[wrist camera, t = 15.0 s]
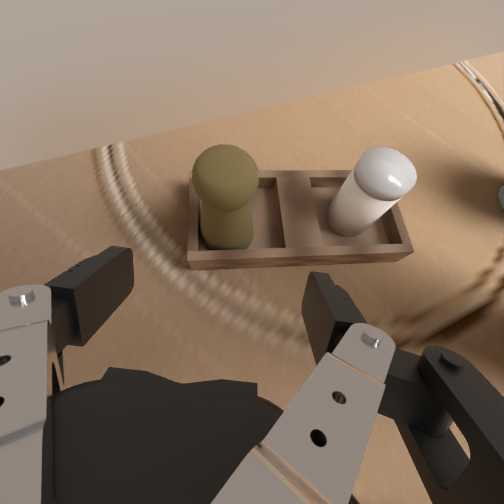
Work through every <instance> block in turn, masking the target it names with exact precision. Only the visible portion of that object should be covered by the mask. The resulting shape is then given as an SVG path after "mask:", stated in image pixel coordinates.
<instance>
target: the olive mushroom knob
mask: <svg viewBox="0 0 504 504" xmlns="http://www.w3.org/2000/svg"><path fill="white" fill-rule="evenodd" d="M192 182H193V186H194V189H195V192H196V194H197V195H198V197H199V198H200V199H201V200H202V203H201V227H200V237H201V240H202V243H203V244H204V246H205V247H206V248H207V249H208V250H209V251H211V250H239V249H247V248H248V247H249V245H250V244H251V242H252V239H253V236H254V234H253V221H252V209H251V199H252V198H253V197H254V195H255V194H256V190H257V187H258V183H259V175H258V168H257V166H256V164H255V162H254V160H253V159H252V157H251V156H250V155H249V154H248V153H247V152H246V151H244V150H242V149H241V148H239V147H236V146H232V145H217V146H212V147H210V148H208V149H206V150H205V151H204V152H203V153H202V154H201V155H200V156H199V157H198V158H197V159H196V161H195V164H194V166H193V170H192Z"/></svg>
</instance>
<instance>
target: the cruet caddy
mask: <svg viewBox="0 0 504 504" xmlns="http://www.w3.org/2000/svg"><path fill="white" fill-rule="evenodd" d="M351 171H352V170H317V171H258V175H259V183H258V187H257V190H256V194H255V195H254V197H253V198H252V199H251V209H252V221H253V234H254V236H253V239H252V242H251V244H250V245H249V247H248V248H247V249H239V250H211V251H209V250H208V249H207V248H206V247H205V246H204V244H203V243H202V240H201V237H200V227H201V203H202V200H201V199H200V198H199V197H198V195H197V194H196V192H195V189H194V186H193V182H192V171H190V175H189V211H188V248H187V262H188V264H189V266H190V268H191V270H211V269H234V268H257V267H280V266H303V265H326V264H349V263H372V262H395V261H399V260H400V259H402V258H404V257H406V256H408V255H409V254H411V253H413V252H414V250H413V247H412V244H411V241H410V238H409V236H408V233H407V230H406V227H405V224H404V221H403V218H402V215H401V212H400V209H399V207H398V204H397V202H396V203H395V204H394V205H393V206H392V207H391V208H390V209H388V210H387V211H386V212H385V213H384V214H383V215H382V216H381V217H380V218H379V219H377V220H376V221H375V222H374V223H373V224H372V225H371V226H370V227H369V228H368V229H366V230H365V231H364V232H363V233H362V234H361V235H359V236H356V237H345V236H342V235H339V234H337V233H336V232H334V231H333V230H332V229H331V228H330V226H329V225H328V223H327V221H326V209H327V207H328V206H329V204H330V203H331V201H332V200H333V198H334V197H335V195H336V194H337V192H338V191H339V189H340V188H341V186H342V185H343V183H344V182H345V180H346V179H347V177H348V176H349V174H350V173H351Z"/></svg>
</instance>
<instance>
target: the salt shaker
mask: <svg viewBox="0 0 504 504" xmlns="http://www.w3.org/2000/svg"><path fill="white" fill-rule="evenodd" d="M416 179H417V174H416V170H415V168H414V166H413V164H412V163H411V161H410V160H409V159H408V158H407V157H406V156H404V155H403V154H401V153H400V152H398V151H396V150H394V149H391V148H386V147H374V148H371V149H369V150H367V151H366V152H364V153H363V155H362V156H361V158H360V159H359V161H358V162H357V164H356V165H355V167H354V168H353V170H352V171H351V173H350V174H349V176H348V177H347V179H346V180H345V182H344V183H343V185H342V186H341V188H340V189H339V191H338V192H337V194H336V195H335V197H334V198H333V200H332V201H331V203H330V204H329V206H328V207H327V209H326V221H327V223H328V225H329V226H330V228H331V229H332V230H333V231H334V232H336V233H337V234H339V235H342V236H345V237H356V236H359V235H361V234H362V233H363V232H364V231H365V230H366V229H368V228H369V227H370V226H371V225H372V224H373V223H374V222H375V221H376V220H377V219H379V218H380V217H381V216H382V215H383V214H384V213H385V212H386V211H387V210H388V209H390V208H391V207H392V206H393V205H394V204H395V203H396V202H397V201H398V200H399V199H401V198H402V197H403V196H404V195H405V194H406V193H407V192H408V191H409V190H410V189H411V188H412V187H413V186H414V185H415V183H416Z"/></svg>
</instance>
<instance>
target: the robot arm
mask: <svg viewBox="0 0 504 504" xmlns="http://www.w3.org/2000/svg"><path fill="white" fill-rule="evenodd" d="M133 285H134V269H133V253H132V250H131V249H130V248H125V247H117V246H110V247H109V248H107V249H106V250H104V251H103V252H101V253H99V254H98V255H96V256H93V257H90V258H87V259H84V260H83V261H81V262H79V263H78V264H76V265H75V266H73V267H71V268H70V269H68V271H65V272H63V273H62V274H60V275H59V276H57V277H56V278H54V279H52V280H51V281H49V282H48V283H46V284H44V285H38V284H32V285H23V286H17V287H13V288H10V289H7V290H5V291H2V292H0V504H360V503H359V502H358V501H357V500H356V498H355V497H354V496H353V495H352V491H353V487H354V484H355V481H356V478H357V475H358V472H359V468H360V465H361V462H362V459H363V456H364V453H365V449H366V446H367V443H368V440H369V437H370V434H371V431H372V427H373V424H374V421H375V418H376V415H377V413H379V414H381V415H384V416H386V417H389V418H391V419H394V421H395V423H396V425H397V427H398V429H399V432H400V434H401V436H402V438H403V440H404V443H405V445H406V447H407V449H408V451H409V453H410V456H411V458H412V460H413V462H414V464H415V467H416V469H417V471H418V473H419V475H420V477H421V480H422V482H423V484H424V486H425V488H426V491H427V493H428V495H429V497H430V499H431V502H432V504H504V397H503V396H502V395H501V394H500V393H499V392H498V391H497V390H496V389H495V388H494V387H493V386H492V384H491V383H490V382H489V381H488V380H487V379H486V378H485V377H484V376H483V375H482V374H481V373H480V372H479V371H478V370H477V369H476V368H475V367H474V366H473V365H472V364H471V363H470V362H469V361H468V360H466V359H465V358H463V357H462V356H460V355H459V354H457V353H455V352H453V351H451V350H448V349H446V348H443V347H439V346H427V347H426V348H425V349H424V351H423V353H422V355H421V356H418V355H415V354H412V353H409V352H406V351H403V350H400V349H397V348H395V347H396V346H395V343H394V341H393V339H392V338H391V337H390V336H389V335H388V334H387V333H385V332H384V331H382V330H381V329H379V328H377V327H375V326H372V325H369V324H367V322H366V321H365V319H364V318H363V316H362V314H361V313H360V311H359V310H358V308H357V307H356V305H355V304H354V302H353V301H352V299H351V297H350V296H349V294H348V293H347V292H346V291H345V290H344V289H342V288H341V287H340V286H339V285H335V284H334V283H333V281H332V279H331V278H330V276H329V274H328V273H320V272H312V271H311V272H310V274H309V276H308V280H307V284H306V288H305V292H304V297H303V301H302V316H303V320H304V323H305V327H306V330H307V334H308V337H309V341H310V344H311V348H312V352H313V355H314V359H315V362H316V368H315V369H314V370H313V372H312V373H311V375H310V376H309V377H308V379H307V380H306V381H305V383H304V384H303V386H302V387H301V388H300V390H299V391H298V393H297V394H296V395H295V397H294V398H293V400H292V401H291V402H290V404H289V405H288V407H287V408H286V409H285V411H283V410H282V409H281V408H280V407H278V406H277V405H275V404H273V403H272V402H270V401H268V400H266V399H264V398H262V397H259V396H257V383H251V382H242V381H232V380H223V379H220V380H211V381H203V382H194V383H186V384H181V383H177V382H174V381H172V380H169V379H166V378H164V377H161V376H158V375H155V374H153V373H150V372H147V371H141V370H131V369H122V368H113V367H109V368H108V370H107V371H106V373H105V374H104V376H103V377H102V379H101V380H95V381H90V382H86V383H82V384H79V385H75V386H73V387H70V388H66V372H65V357H64V352H63V349H64V348H65V347H66V346H67V345H73V346H82V347H83V346H84V345H85V344H86V343H87V342H88V340H89V339H90V338H91V337H92V336H93V335H94V334H95V333H96V331H97V330H98V329H99V328H100V327H101V326H102V325H103V324H104V322H105V321H106V320H107V319H108V318H109V317H110V316H111V314H112V313H113V312H114V311H115V310H116V309H117V308H118V307H119V305H120V304H121V303H122V302H123V301H124V300H125V299H126V298H127V296H128V295H129V294H130V293H131V291H132V289H133ZM453 421H454V422H455V424H456V425H457V427H458V428H459V430H460V431H461V433H462V434H463V435H464V437H465V439H466V441H467V443H468V445H469V449H470V460H469V458H468V457H467V455H466V453H465V452H464V450H463V449H462V447H461V446H460V444H459V443H458V441H457V439H456V438H455V436H454V435H453V433H452V432H451V430H450V429H449V427H450V426H451V424H452V423H453Z"/></svg>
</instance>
